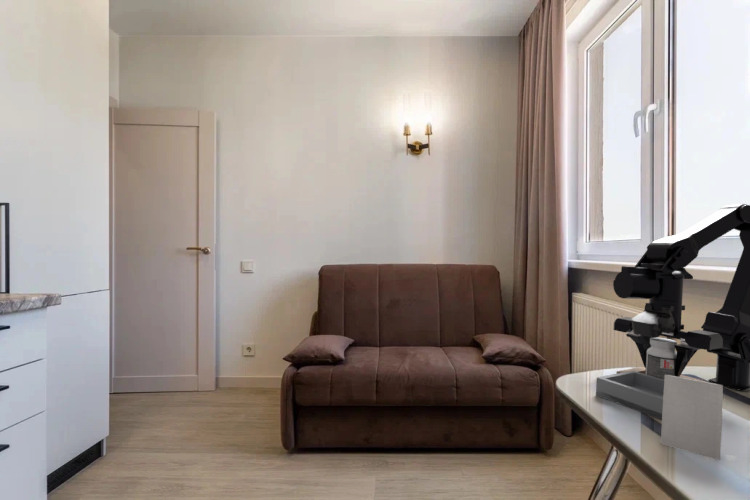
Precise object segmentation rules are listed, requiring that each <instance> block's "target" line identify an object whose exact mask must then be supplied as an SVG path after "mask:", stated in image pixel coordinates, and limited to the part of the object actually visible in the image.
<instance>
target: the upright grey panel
mask: <svg viewBox="0 0 750 500" xmlns="http://www.w3.org/2000/svg"><path fill="white" fill-rule="evenodd" d="M703 381H704V380H702V381H698V380H692V379H687V378H681V377H676V376H671V375H665V378H664V394H663V411H662V420H661V431H660V432H661V433H660V445H664V446H668V447H671V448H675V449H679V450H682V451H686V452H689V453H693V454H696V455H697V454H698V455H700V456H703V457H707V458H710V459H711V458H712V459H715V460H721V447H722V432H723V431H722V430H723V429H722V428H723V397H724V396H723V394H724V392H723V391H724V386H723V385H719V384H715V383H711V382H709V381H706V382H703ZM708 382H709V383H708Z"/></svg>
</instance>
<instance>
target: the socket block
mask: <svg viewBox="0 0 750 500" xmlns="http://www.w3.org/2000/svg"><path fill="white" fill-rule="evenodd" d="M628 371H636V372H639V373H643V374H645V372H646V368H645V367H644V365H643V366H639V367H634V368H633V367H632V368H628V369H623V370H617V371H616V372H615V374H617V373H623V372H628ZM679 377H681V378H687V379H692V380H698V381H703V382H708V383H710V382H709V381H705V380H702V379H698V378H695V377H691V376H687V375H685V374H681V375H680V376H679Z"/></svg>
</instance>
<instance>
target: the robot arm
mask: <svg viewBox="0 0 750 500" xmlns="http://www.w3.org/2000/svg"><path fill="white" fill-rule="evenodd" d="M732 230H735V231H739V235H738V236H739V240H740V243H741V244H742V247H743V250H742V252H741V255H740V258H739V260H738V263H737V266H736V269H735V271H734V274H733V277H732V279H731V280H732V281H731V282H730V286H729V288H728V291H727V293H726V297H725V298H724V302H723V304H722V307H721V308H720V309H718V310H717V311H716V312H714V311H708V312H707V313H706V314H705V319H704V322H703V324H702V326H701V327H700V328H701V329H695V330H688V331H685V330H684V329H685V324H683V323H682V314H683V313H682V312H683V311H685V310H686V305H684V304H683V293H684V280H693V278H694V276H693V275H692V274H691V273H690V272H688V271H687V269H686V267H688V266H689V265H690V264H691V263H692V262H693V261H694V260H695V259H697V258H698V256H699V252H700V251H701V249H703V248H704V247H705V246H707V245H709V244H711V243H713V242H714V241H715V240H717V239H719V238H721V237H722V236H724V235H726V234H728V233H729V232H731V231H732ZM612 283H613V284H612V286H613V291H614V293H615V295H617V296H618V298H621V299H627V300H628V299H635V300H648V302H646V303H645V305H644V310H643V312H639V313H638V314H637V315H635V316H634V317H631V316H630V317H628V316H627V317H617V318H616V319H614V321H613V331H617V332H621V333H625V335H626V336H625V337H628V338H630V339H631V340H632V341H633V342H634V343H635V345H636V348H637V349H638V350H637V351H638V352H639V356H640V358H641V361H642V364H643V366H644V367H645V368H646V353H647V350H648V349H649V348H651V344H650V338H660V337H661V336H662V337H664V338H665V337H666V338H669V339H671V338H672V339H675V340H679V341H680V343H679V344H677V345H674V346H675V351H676V352H677V355H676V364H675V376H676V377H679V376H680V375H682V374H683V372H684V371H685V368H686V367H687V365H688V364H689V362H690V360H691V359H692V358H693V356H694V355H695V354H696V353H697V352H698V350H705V351H706V352H707V353H711V354H715V355H716V369H715V370H716V371H715V377H714V378H709V379H708V381H707V382H709V383H714V384H719V385H723V387H726V388H727V387H728V388H730V389H734V390H739V391H741V392H747V391H750V204H749V205H748V204H746V203H742V204H741V203H739V204H729V205H725V206H722V207H720V209H719V210H718V211H716V212H715V213H713V214H711V215H710V216H708V217H706V218H704V219H703V220H701V221H700V222H698V223H696V224H694V225H692V226H690V227H689V228H688V229H686V230H684V231H683V232H680V233H678V234H673V235H670V236H665V237H662V238H659V239H657V240H654V241H652V242H650V243H649V244H648V245H647V246H646V250H645V252H644V253H643V255H641V258H640V259H639V260H638V261H637V262H636V264H635V265H634V266H627V265H622V266H621V270H620V272H618V273H617V275H615V277H614V280H613V281H612Z"/></svg>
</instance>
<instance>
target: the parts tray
mask: <svg viewBox="0 0 750 500" xmlns="http://www.w3.org/2000/svg"><path fill="white" fill-rule="evenodd" d="M616 373H617V372H616ZM616 373H613V374H608V375H603V376H602V375H601V376H597V377H596V385H595V387H596V388H595V395H596V396H597V397H600V398H603V399H606V400H608V401H610V402H614V403H617V404H619V405H621V406H623V407H624V406H625V407H627V408H629V409H632V410H635V411H638V412H640V413H643V414H645V415H648V416H651V417H653V418H657V419H659V420H661V421H662V411H663V394H664V380H663V379H660V378H657V377H653V376H650V375H646V374H643V373H639V372H636V371H628V372H623V373H617V374H616Z"/></svg>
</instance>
